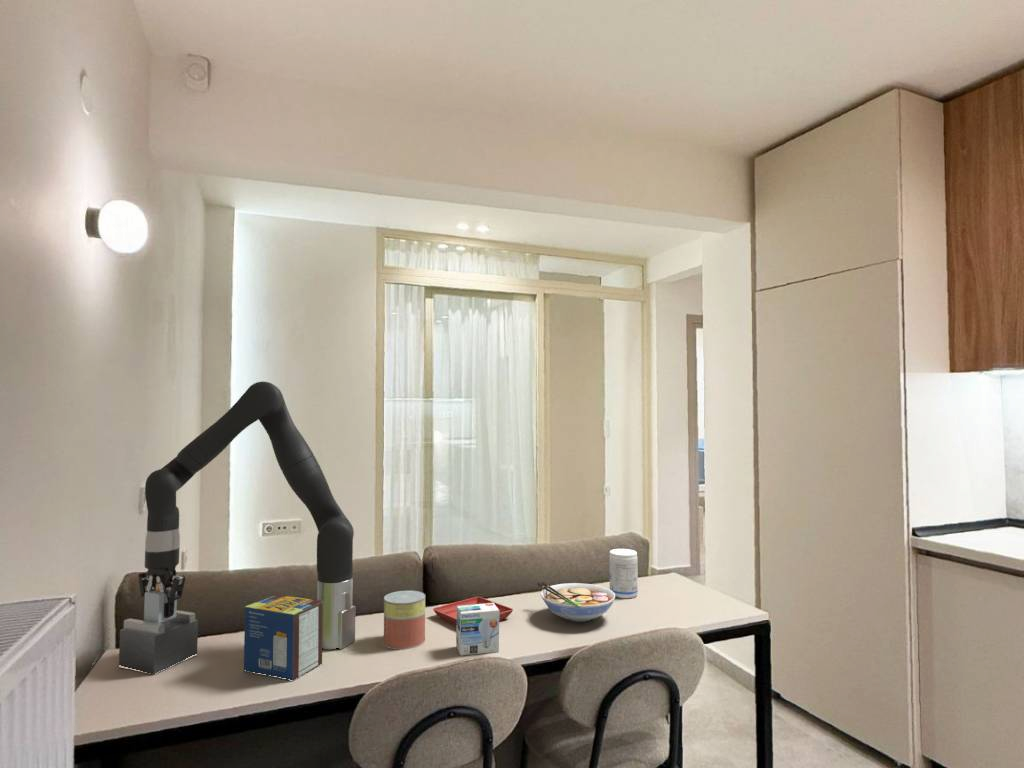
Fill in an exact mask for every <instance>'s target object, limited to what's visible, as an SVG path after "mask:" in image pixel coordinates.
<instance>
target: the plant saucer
mask: <svg viewBox="0 0 1024 768" xmlns="http://www.w3.org/2000/svg"><path fill="white" fill-rule="evenodd" d="M485 603H494V604H495V605H496V607H497V608H498V609H499V622H500V620H501V621H504V620H507V618H508V617H509V616H510V615H511V614H512V613H513V611H514V608H513V607H512V608H511V607H509V606H506V605H503V604H500V603H498V602H495V601H492V600H490V599H487V598H484V597H481V596H474V597H470V598H467V599H463V600H459V601H455V602H451V603H448V604H444V605H440V606H436V607H433V608H432V610H433V611H434V613H435V614H436V616H437V617H439V619H441V620H443V619H444V621H445V622H448V623H450V624H453V625H454V626H457V606H462V605H474V604H485ZM503 619H504V620H503Z"/></svg>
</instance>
